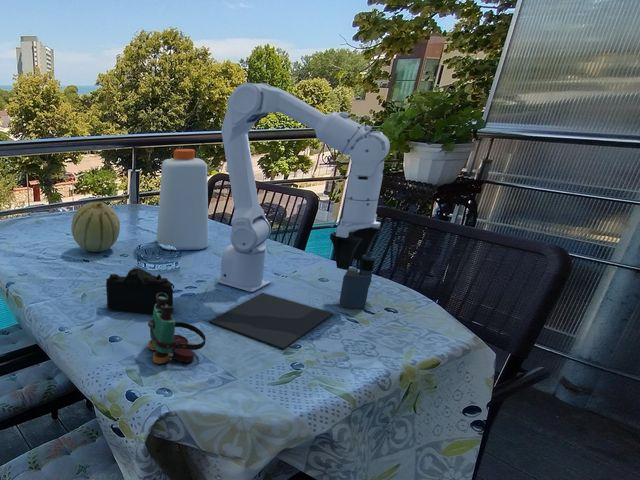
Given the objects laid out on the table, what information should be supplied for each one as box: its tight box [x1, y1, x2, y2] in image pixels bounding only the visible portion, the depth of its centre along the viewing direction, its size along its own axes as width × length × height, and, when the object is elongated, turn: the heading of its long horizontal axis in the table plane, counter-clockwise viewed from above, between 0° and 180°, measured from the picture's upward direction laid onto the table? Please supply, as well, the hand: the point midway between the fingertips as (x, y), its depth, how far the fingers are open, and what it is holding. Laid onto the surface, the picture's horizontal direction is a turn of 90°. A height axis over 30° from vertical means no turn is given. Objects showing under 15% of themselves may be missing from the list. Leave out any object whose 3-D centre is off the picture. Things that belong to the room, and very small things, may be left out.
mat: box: [209, 292, 334, 351], centre depth 94 cm, size 16×20×1 cm
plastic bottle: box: [156, 148, 210, 251], centre depth 138 cm, size 15×15×28 cm
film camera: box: [105, 267, 175, 315], centre depth 101 cm, size 15×10×9 cm, turn 71°
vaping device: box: [339, 250, 376, 309], centre depth 96 cm, size 3×5×12 cm, turn 78°
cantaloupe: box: [70, 201, 121, 253], centre depth 138 cm, size 15×15×15 cm
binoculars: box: [147, 292, 207, 365], centre depth 81 cm, size 9×11×10 cm
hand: (350, 264), depth 96 cm, fingers open, 7 cm apart
